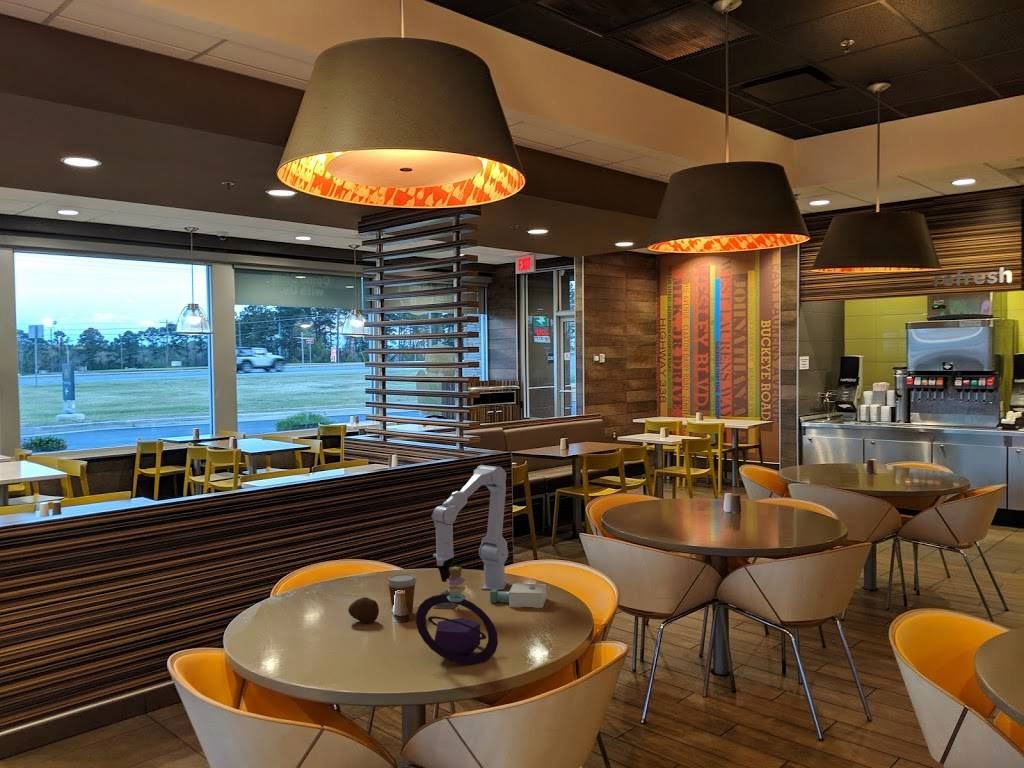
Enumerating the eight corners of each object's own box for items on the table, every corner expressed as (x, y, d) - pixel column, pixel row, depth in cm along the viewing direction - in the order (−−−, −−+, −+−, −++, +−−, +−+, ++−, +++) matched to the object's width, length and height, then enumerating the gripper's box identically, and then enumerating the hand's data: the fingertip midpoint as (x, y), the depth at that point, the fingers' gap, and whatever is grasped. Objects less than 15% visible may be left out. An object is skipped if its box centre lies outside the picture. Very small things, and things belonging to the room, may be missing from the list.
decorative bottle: (442, 677, 209) (440, 583, 208) (404, 654, 226) (401, 567, 224) (511, 656, 222) (509, 568, 221) (470, 635, 239) (468, 553, 238)
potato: (376, 626, 249) (375, 601, 249) (345, 626, 250) (345, 601, 249) (382, 618, 256) (381, 594, 256) (352, 618, 257) (351, 594, 257)
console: (443, 594, 280) (443, 588, 280) (462, 594, 279) (462, 588, 279) (433, 608, 265) (432, 601, 265) (452, 608, 264) (452, 602, 264)
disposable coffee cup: (415, 618, 255) (414, 581, 255) (385, 618, 256) (384, 582, 255) (419, 608, 265) (418, 573, 264) (390, 609, 265) (389, 573, 265)
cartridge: (492, 599, 272) (491, 588, 271) (535, 600, 269) (535, 589, 269) (490, 602, 268) (490, 591, 268) (534, 603, 266) (534, 592, 266)
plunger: (442, 598, 270) (442, 591, 270) (450, 598, 269) (450, 591, 269) (440, 601, 267) (440, 594, 267) (448, 601, 267) (448, 594, 267)
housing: (513, 597, 274) (513, 581, 273) (546, 598, 272) (545, 581, 272) (509, 607, 264) (508, 589, 264) (542, 608, 262) (542, 590, 262)
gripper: (438, 536, 277) (439, 574, 277) (427, 546, 262) (428, 587, 263) (458, 536, 275) (459, 575, 276) (448, 547, 261) (449, 587, 262)
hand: (445, 581), depth 269 cm, fingers closed
